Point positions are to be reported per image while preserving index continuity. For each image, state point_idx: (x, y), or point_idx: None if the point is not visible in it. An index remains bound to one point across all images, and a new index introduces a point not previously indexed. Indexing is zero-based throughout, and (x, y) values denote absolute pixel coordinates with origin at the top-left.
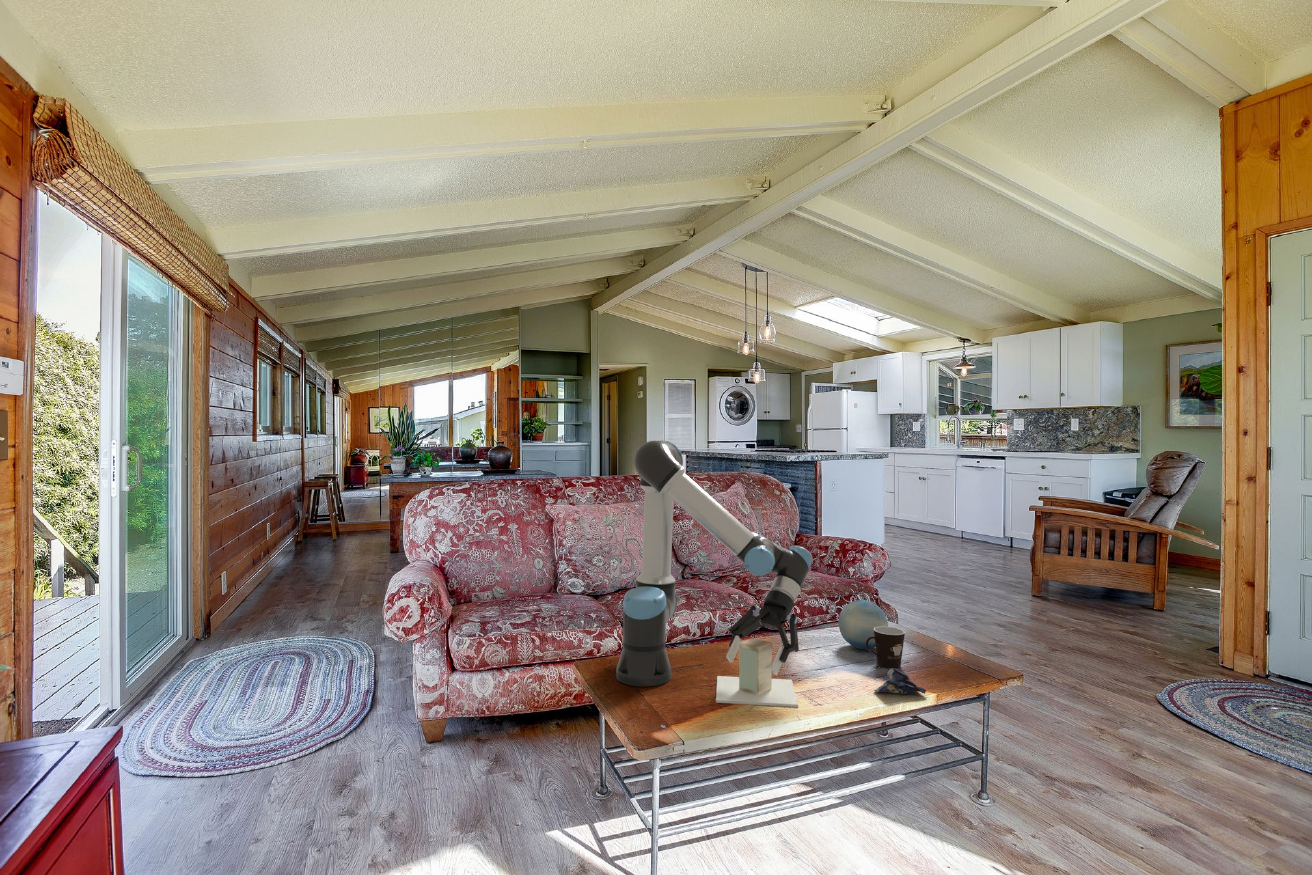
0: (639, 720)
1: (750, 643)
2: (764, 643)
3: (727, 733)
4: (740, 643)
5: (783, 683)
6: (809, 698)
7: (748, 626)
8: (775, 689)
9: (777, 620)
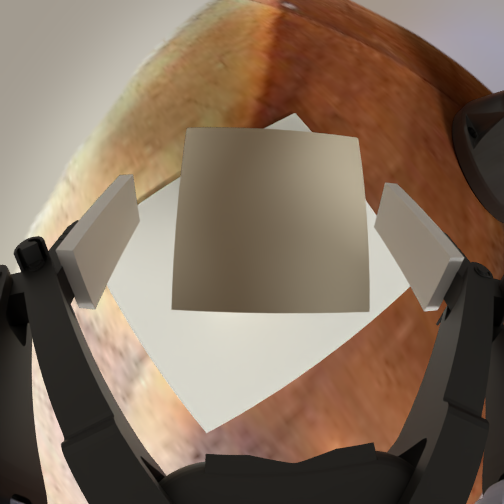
0: (333, 7)
1: (297, 173)
2: (209, 248)
3: (175, 34)
4: (348, 137)
5: (208, 384)
6: (92, 331)
7: (463, 338)
8: (198, 312)
9: (113, 497)
